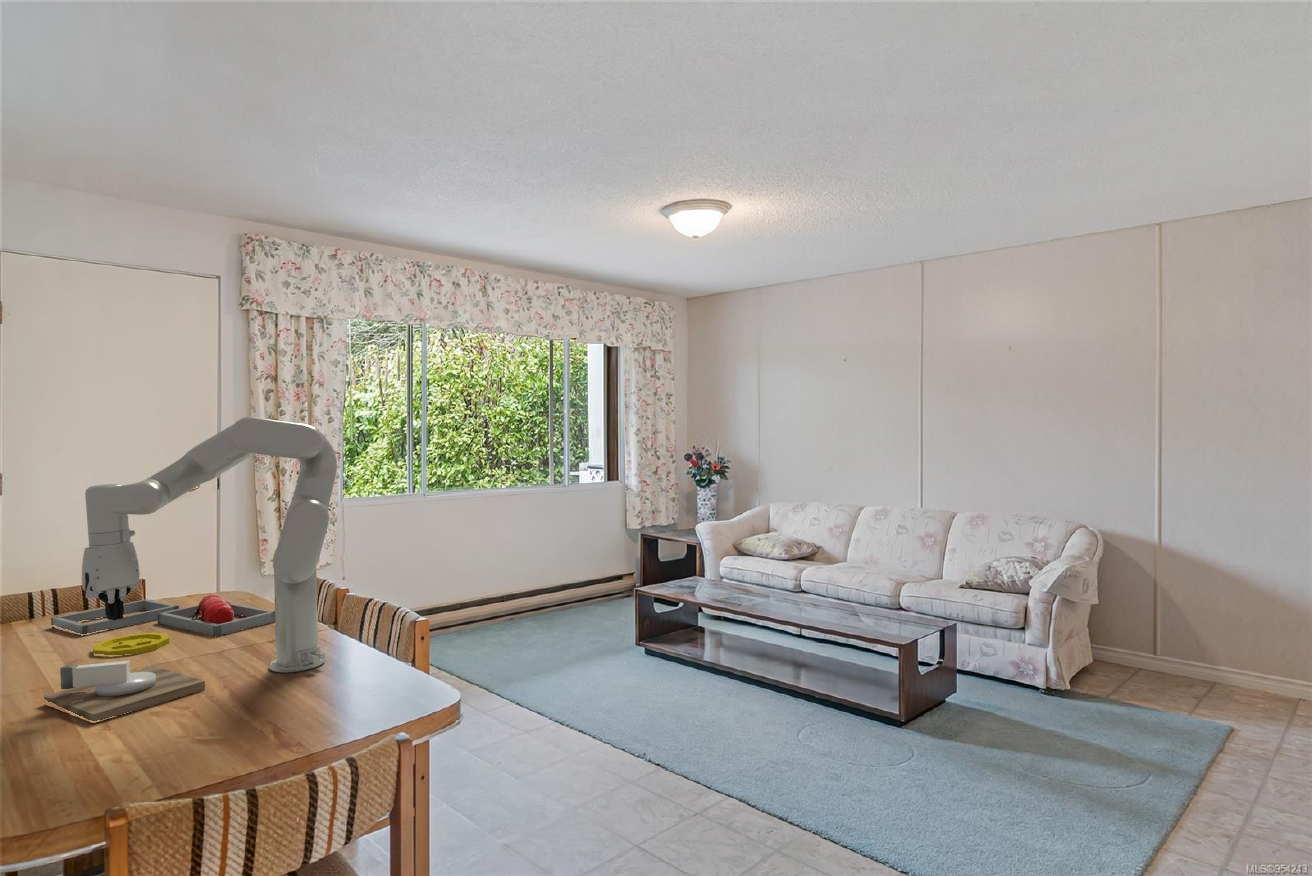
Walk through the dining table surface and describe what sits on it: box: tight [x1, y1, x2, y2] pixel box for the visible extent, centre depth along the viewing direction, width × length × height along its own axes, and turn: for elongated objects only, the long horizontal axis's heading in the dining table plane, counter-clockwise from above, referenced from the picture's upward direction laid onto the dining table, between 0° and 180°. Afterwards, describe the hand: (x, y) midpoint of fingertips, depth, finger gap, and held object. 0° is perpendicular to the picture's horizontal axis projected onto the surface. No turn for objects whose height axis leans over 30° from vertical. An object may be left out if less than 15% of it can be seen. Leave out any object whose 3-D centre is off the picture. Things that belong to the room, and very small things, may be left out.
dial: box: [59, 660, 156, 696], centre depth 165 cm, size 18×11×6 cm, turn 108°
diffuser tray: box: [50, 598, 180, 634], centre depth 232 cm, size 20×26×3 cm
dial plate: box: [43, 665, 206, 721], centre depth 166 cm, size 22×22×2 cm
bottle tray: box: [157, 602, 275, 638], centre depth 229 cm, size 32×18×3 cm, turn 60°
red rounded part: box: [191, 594, 235, 624], centre depth 228 cm, size 12×8×25 cm
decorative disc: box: [92, 631, 170, 655], centre depth 204 cm, size 17×18×2 cm
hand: (115, 618), depth 170 cm, fingers closed
